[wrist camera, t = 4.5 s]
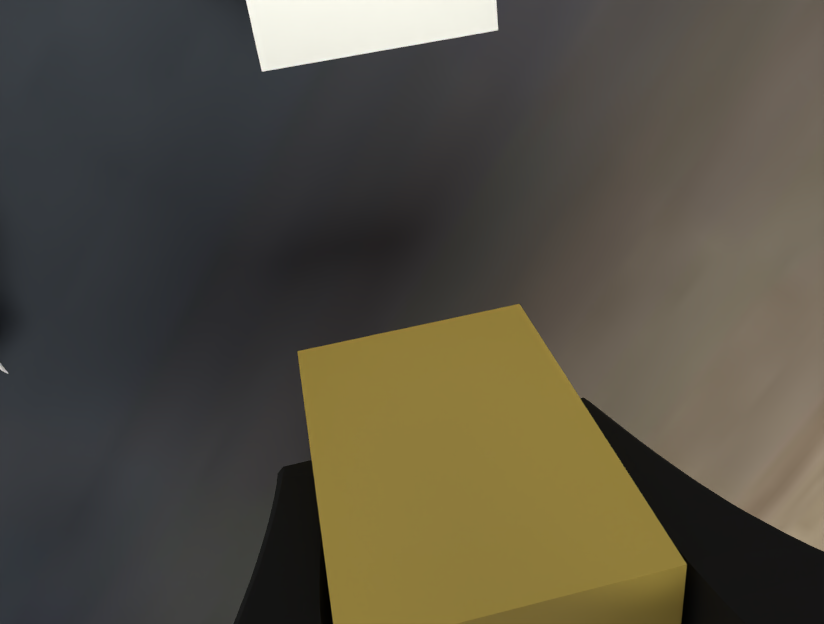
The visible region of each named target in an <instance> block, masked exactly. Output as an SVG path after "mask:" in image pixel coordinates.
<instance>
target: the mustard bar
mask: <svg viewBox="0 0 824 624" xmlns="http://www.w3.org/2000/svg"><path fill="white" fill-rule="evenodd" d="M297 352H298V360H299V367H300V375H301V382H302V390H303V398H304V405H305V413H306V420H307V428H308V436H309V443H310V451H311V459H312V466H313V474H314V481H315V489H316V497H317V504H318V512H319V519H320V527H321V535H322V542H323V550H324V558H325V565H326V573H327V580H328V588H329V596H330V603H331V611H332V618H333V624H681V621H682V610H683V600H684V590H685V580H686V569H687V564H686V562H685V561H684V559H683V558H682V556H681V554H680V553H679V551H678V550H677V548H676V547H675V545H674V544H673V542H672V540H671V539H670V537H669V536H668V534H667V533H666V531H665V530H664V528H663V526H662V525H661V523H660V522H659V520H658V519H657V517H656V516H655V514H654V512H653V511H652V509H651V508H650V506H649V505H648V503H647V502H646V500H645V498H644V497H643V495H642V494H641V492H640V491H639V489H638V488H637V486H636V484H635V483H634V481H633V480H632V478H631V477H630V475H629V474H628V472H627V470H626V469H625V467H624V466H623V464H622V463H621V461H620V460H619V458H618V456H617V455H616V453H615V452H614V450H613V449H612V447H611V446H610V444H609V442H608V441H607V439H606V438H605V436H604V435H603V433H602V432H601V430H600V428H599V427H598V425H597V424H596V422H595V421H594V419H593V418H592V416H591V414H590V413H589V411H588V410H587V408H586V407H585V405H584V404H583V402H582V400H581V399H580V397H579V396H578V394H577V393H576V391H575V390H574V388H573V386H572V385H571V383H570V382H569V380H568V379H567V377H566V376H565V374H564V372H563V371H562V369H561V368H560V366H559V365H558V363H557V362H556V360H555V358H554V357H553V355H552V354H551V352H550V351H549V349H548V348H547V346H546V344H545V343H544V341H543V340H542V338H541V337H540V335H539V334H538V332H537V330H536V329H535V327H534V326H533V324H532V323H531V321H530V320H529V318H528V316H527V315H526V313H525V312H524V310H523V309H522V307H521V306H520V304H517V305H512V306H507V307H502V308H498V309H493V310H488V311H484V312H479V313H474V314H470V315H465V316H460V317H456V318H451V319H446V320H442V321H437V322H432V323H428V324H423V325H418V326H413V327H409V328H404V329H399V330H395V331H390V332H385V333H381V334H376V335H371V336H367V337H362V338H357V339H353V340H348V341H343V342H338V343H334V344H329V345H324V346H320V347H315V348H310V349H306V350H301V351H297Z"/></svg>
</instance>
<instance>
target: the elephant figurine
mask: <svg viewBox="0 0 824 624" xmlns="http://www.w3.org/2000/svg"><path fill="white" fill-rule="evenodd" d="M0 369H1V370H2V371H3V372H5V373H7V374H8V372H7V371H6V370H5V368H4V367H3V366H2V364H1V363H0Z"/></svg>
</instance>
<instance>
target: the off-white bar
mask: <svg viewBox="0 0 824 624" xmlns="http://www.w3.org/2000/svg"><path fill="white" fill-rule="evenodd" d="M246 3H247V7H248V12H249V16H250V21H251V25H252V29H253V34H254V38H255V43H256V47H257V52H258V56H259V61H260V65H261V70H262V72H263V71H268V70H274V69H280V68H285V67H291V66H297V65H302V64H308V63H314V62H320V61H325V60H331V59H337V58H342V57H348V56H354V55H359V54H365V53H371V52H377V51H382V50H388V49H394V48H399V47H405V46H411V45H416V44H422V43H428V42H434V41H439V40H445V39H451V38H456V37H462V36H468V35H473V34H479V33H485V32H491V31H496V30H498V21H497V5H496V0H246Z"/></svg>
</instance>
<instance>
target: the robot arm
mask: <svg viewBox="0 0 824 624" xmlns="http://www.w3.org/2000/svg"><path fill="white" fill-rule="evenodd" d="M581 400H582V402H583V404H584V405H585V407H586V408H587V410H588V411H589V413H590V414H591V416H592V418H593V419H594V421H595V422H596V424H597V425H598V427H599V428H600V430H601V432H602V433H603V435H604V436H605V438H606V439H607V441H608V442H609V444H610V446H611V447H612V449H613V450H614V452H615V453H616V455H617V456H618V458H619V460H620V461H621V463H622V464H623V466H624V467H625V469H626V470H627V472H628V474H629V475H630V477H631V478H632V480H633V481H634V483H635V484H636V486H637V488H638V489H639V491H640V492H641V494H642V495H643V497H644V498H645V500H646V502H647V503H648V505H649V506H650V508H651V509H652V511H653V512H654V514H655V516H656V517H657V519H658V520H659V522H660V523H661V525H662V526H663V528H664V530H665V531H666V533H667V534H668V536H669V537H670V539H671V540H672V542H673V544H674V545H675V547H676V548H677V550H678V551H679V553H680V554H681V556H682V558H683V559H684V561H685V562H686V564H687V569H686V580H685V590H684V600H683V610H682V621H681V624H824V552H823V551H821V550H819V549H817V548H814V547H812V546H810V545H808V544H806V543H804V542H802V541H800V540H798V539H796V538H794V537H792V536H790V535H788V534H786V533H784V532H782V531H780V530H778V529H776V528H775V527H773V526H771V525H769V524H767V523H765V522H763V521H762V520H760V519H758V518H756V517H754V516H752V515H750V514H748V513H747V512H745V511H743V510H742V509H740V508H738V507H736V506H735V505H733V504H731V503H730V502H728V501H726V500H725V499H723V498H722V497H720V496H719V495H717V494H715V493H714V492H712V491H711V490H709V489H708V488H706V487H704V486H703V485H701V484H700V483H698V482H697V481H695V480H694V479H692V478H691V477H689V476H688V475H686V474H685V473H684V472H682V471H681V470H679V469H678V468H677V467H675V466H674V465H672V464H671V463H669V462H668V461H667V460H665V459H664V458H662V457H661V456H660V455H658V454H657V453H655V452H654V451H653V450H651V449H650V448H649V447H647V446H646V445H645V444H643V443H642V442H641V441H639V440H638V439H637V438H635V437H634V436H633V435H631V434H630V433H629V432H628V431H626V430H625V429H624V428H622V427H621V426H620V425H619V424H617V423H616V422H615V421H613V420H612V419H611V418H610V417H608V416H607V415H606V414H605V413H603V412H602V411H601V410H600V409H598V408H597V407H596V406H594V405H593V404H592V403H591V402H589V401H588V400H586V399H585V398H581ZM234 624H333V618H332V611H331V603H330V596H329V588H328V580H327V573H326V565H325V558H324V550H323V542H322V535H321V527H320V519H319V512H318V504H317V497H316V489H315V481H314V474H313V466H312V460H311V461H306V462H302V463H298V464H293V465H289V466H285V467H283V468H282V469H281V470H280V472H279V473H278V478H277V485H276V491H275V497H274V501H273V506H272V510H271V514H270V518H269V522H268V526H267V530H266V533H265V537H264V540H263V543H262V546H261V549H260V553H259V556H258V559H257V562H256V565H255V569H254V572H253V574H252V577H251V580H250V583H249V585H248V588H247V591H246V593H245V596H244V598H243V601H242V604H241V606H240V609H239V611H238V614H237V617H236V619H235V621H234Z"/></svg>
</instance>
